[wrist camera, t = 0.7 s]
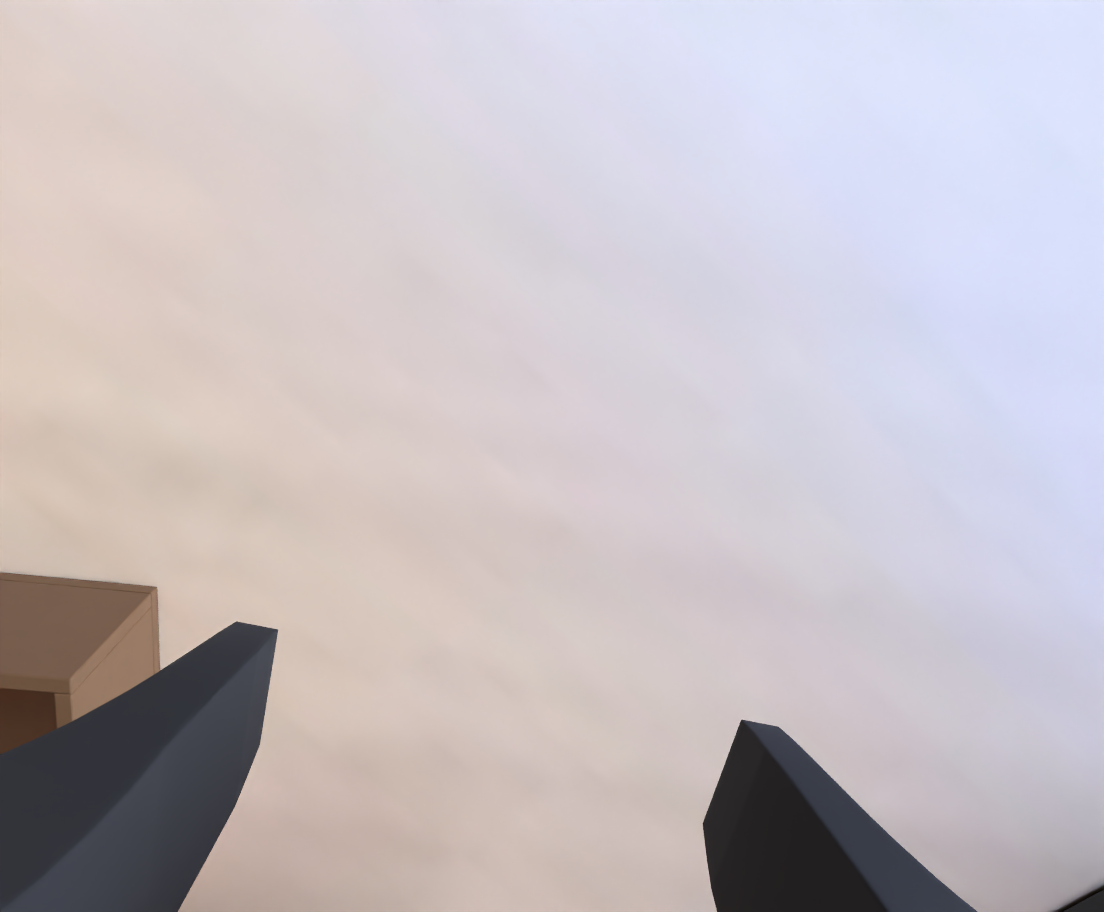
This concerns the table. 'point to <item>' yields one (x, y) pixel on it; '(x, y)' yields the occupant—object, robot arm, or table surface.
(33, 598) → the carton
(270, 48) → the table surface
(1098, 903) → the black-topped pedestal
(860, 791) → the table surface
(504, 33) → the table surface
